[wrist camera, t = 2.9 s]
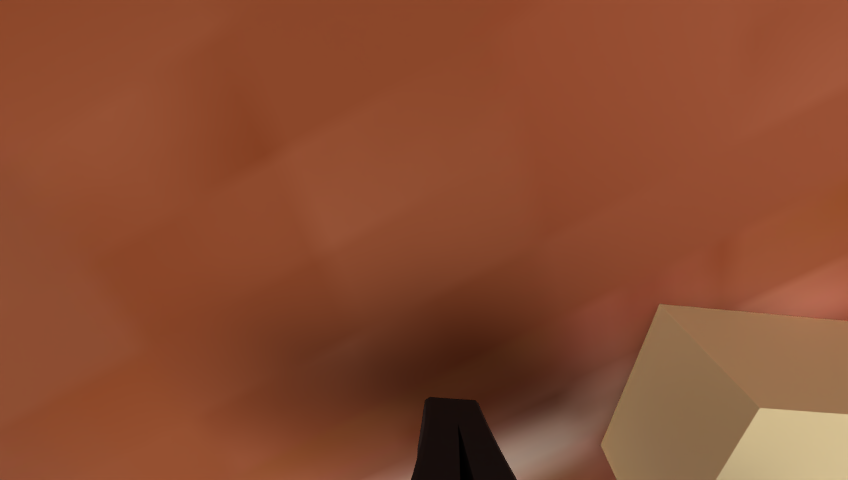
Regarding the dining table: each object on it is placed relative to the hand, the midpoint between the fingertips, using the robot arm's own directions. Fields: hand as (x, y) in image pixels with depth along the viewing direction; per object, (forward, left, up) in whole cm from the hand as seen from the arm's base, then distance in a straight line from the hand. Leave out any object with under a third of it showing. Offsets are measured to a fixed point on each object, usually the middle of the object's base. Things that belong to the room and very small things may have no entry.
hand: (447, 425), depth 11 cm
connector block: (0, -11, -2) cm, 11 cm away
